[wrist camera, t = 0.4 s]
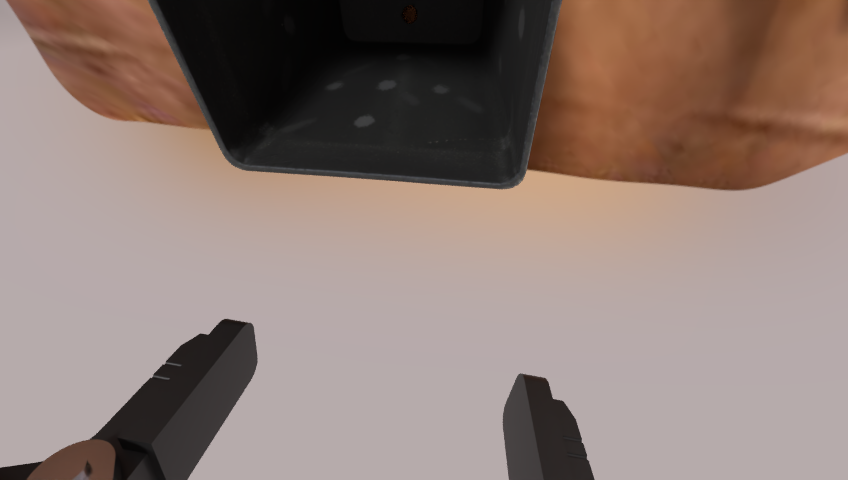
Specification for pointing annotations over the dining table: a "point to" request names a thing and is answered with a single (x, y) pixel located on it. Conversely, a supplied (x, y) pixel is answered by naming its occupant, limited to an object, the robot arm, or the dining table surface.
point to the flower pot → (368, 84)
